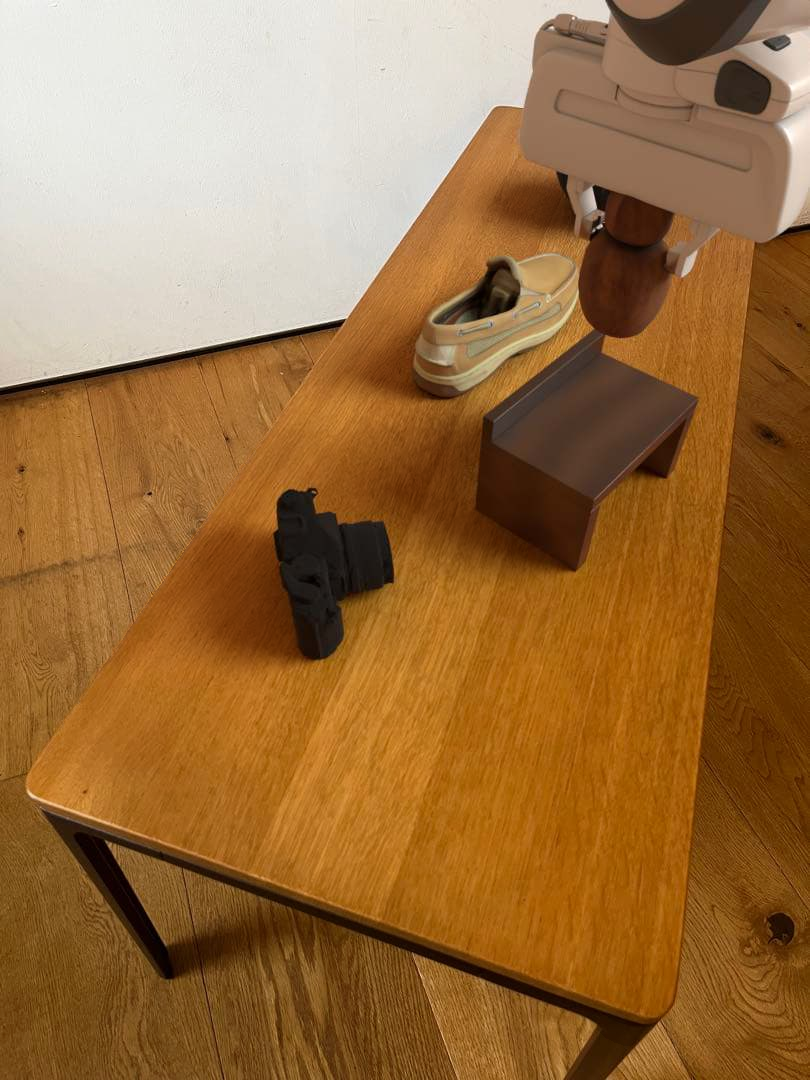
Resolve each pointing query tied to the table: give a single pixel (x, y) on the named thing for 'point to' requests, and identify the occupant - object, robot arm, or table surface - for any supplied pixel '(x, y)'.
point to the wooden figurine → (626, 268)
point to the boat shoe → (494, 321)
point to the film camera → (326, 567)
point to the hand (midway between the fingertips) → (631, 253)
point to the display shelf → (575, 445)
